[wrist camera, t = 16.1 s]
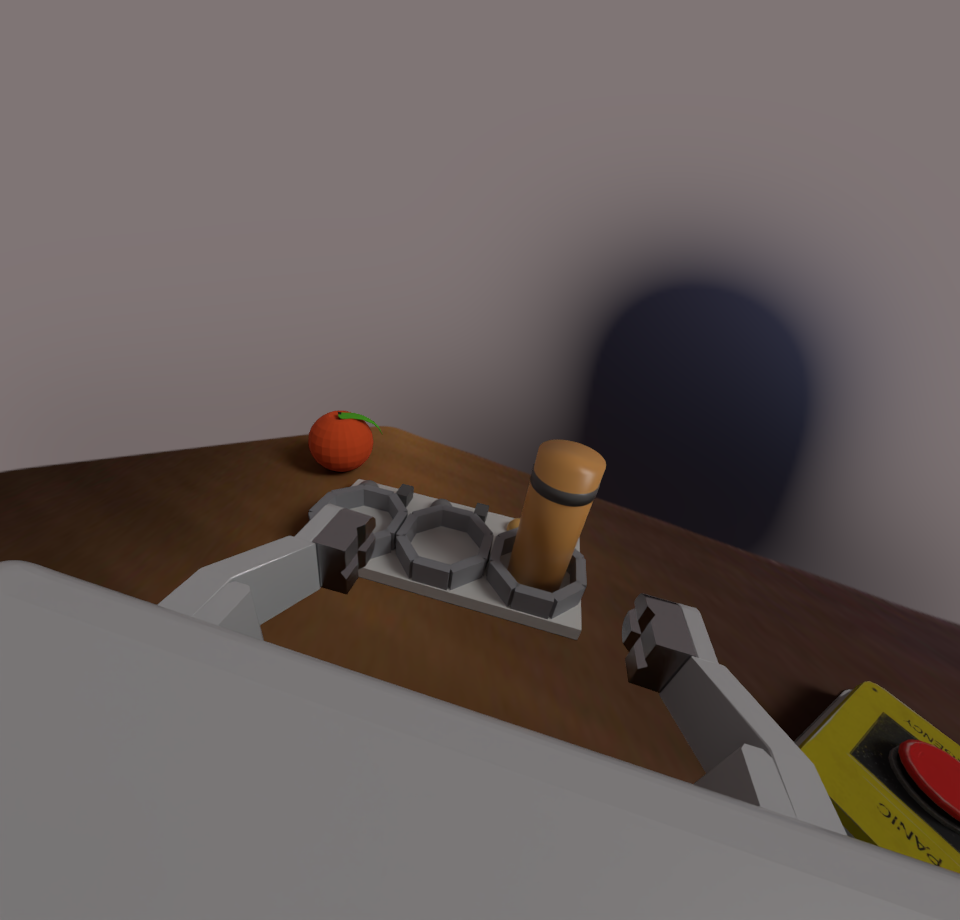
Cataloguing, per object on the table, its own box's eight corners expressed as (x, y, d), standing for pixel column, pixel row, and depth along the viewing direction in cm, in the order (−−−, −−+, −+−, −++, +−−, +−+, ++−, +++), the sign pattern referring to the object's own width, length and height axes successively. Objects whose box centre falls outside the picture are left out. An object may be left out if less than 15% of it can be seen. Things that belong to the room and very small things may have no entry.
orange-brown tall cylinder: (502, 590, 29) (535, 464, 23) (510, 550, 33) (540, 433, 27) (560, 606, 28) (609, 482, 22) (561, 563, 32) (604, 448, 26)
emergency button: (1114, 817, 19) (1082, 1084, 12) (1037, 844, 21) (972, 1083, 14) (884, 655, 25) (779, 764, 19) (844, 689, 28) (737, 797, 21)
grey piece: (292, 557, 30) (287, 528, 29) (358, 487, 40) (358, 463, 38) (577, 640, 27) (589, 613, 26) (575, 543, 37) (584, 519, 35)
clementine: (382, 452, 47) (382, 401, 43) (382, 483, 41) (383, 427, 38) (315, 452, 45) (310, 398, 41) (306, 484, 39) (299, 425, 36)
